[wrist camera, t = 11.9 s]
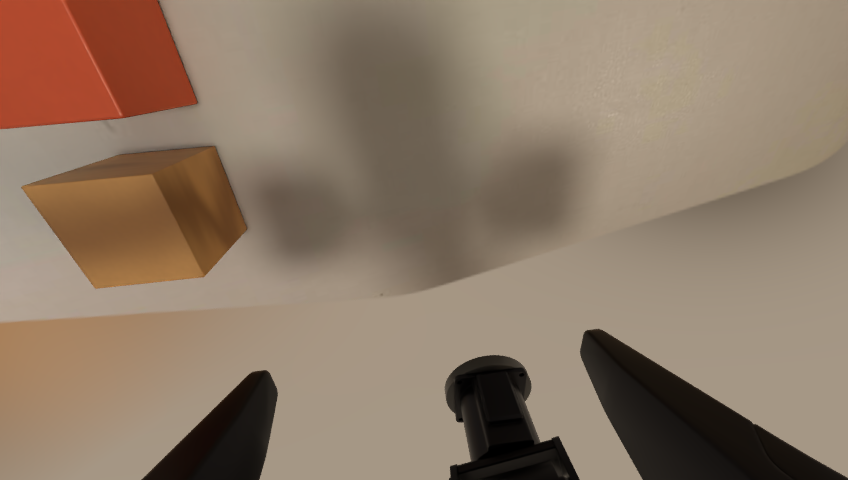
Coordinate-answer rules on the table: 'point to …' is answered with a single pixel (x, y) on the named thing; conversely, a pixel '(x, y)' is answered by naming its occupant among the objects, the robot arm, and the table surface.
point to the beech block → (143, 215)
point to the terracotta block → (86, 62)
